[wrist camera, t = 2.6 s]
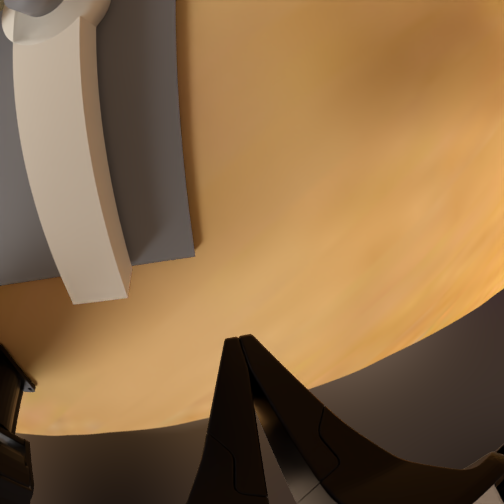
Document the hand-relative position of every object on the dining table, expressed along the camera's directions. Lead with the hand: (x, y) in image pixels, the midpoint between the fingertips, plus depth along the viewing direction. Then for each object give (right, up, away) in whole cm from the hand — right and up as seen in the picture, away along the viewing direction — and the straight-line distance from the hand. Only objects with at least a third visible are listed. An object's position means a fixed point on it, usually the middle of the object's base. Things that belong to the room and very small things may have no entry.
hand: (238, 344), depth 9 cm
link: (-8, +9, +1) cm, 12 cm away
